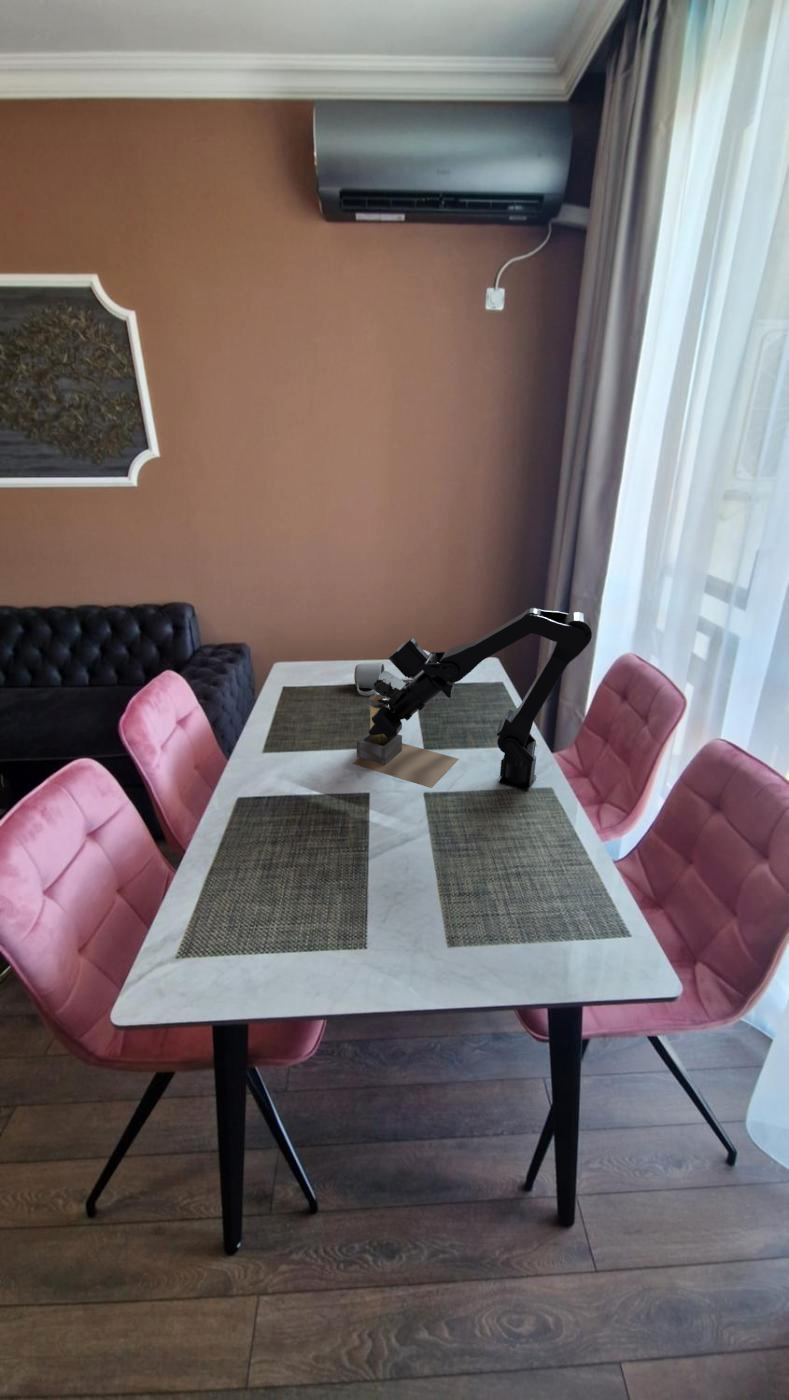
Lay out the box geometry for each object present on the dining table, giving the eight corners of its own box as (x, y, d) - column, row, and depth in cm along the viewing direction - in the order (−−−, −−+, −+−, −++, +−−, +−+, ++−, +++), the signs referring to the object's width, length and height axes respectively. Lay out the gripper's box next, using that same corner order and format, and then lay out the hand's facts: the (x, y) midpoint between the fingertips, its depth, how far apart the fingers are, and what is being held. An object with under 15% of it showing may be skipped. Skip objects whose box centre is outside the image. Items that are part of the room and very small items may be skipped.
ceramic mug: (358, 681, 184) (357, 658, 180) (385, 683, 183) (385, 659, 179) (351, 696, 174) (350, 671, 171) (379, 697, 173) (379, 673, 170)
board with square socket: (458, 764, 139) (460, 743, 137) (431, 793, 128) (432, 771, 125) (380, 742, 148) (380, 722, 146) (349, 768, 137) (348, 747, 135)
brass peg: (393, 751, 141) (393, 696, 135) (383, 760, 137) (382, 704, 132) (376, 747, 143) (375, 692, 137) (365, 755, 140) (364, 699, 134)
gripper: (409, 649, 138) (365, 687, 146) (380, 679, 122) (332, 720, 130) (441, 686, 139) (396, 722, 146) (417, 720, 123) (367, 758, 130)
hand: (373, 729), depth 138 cm, fingers open, 4 cm apart
